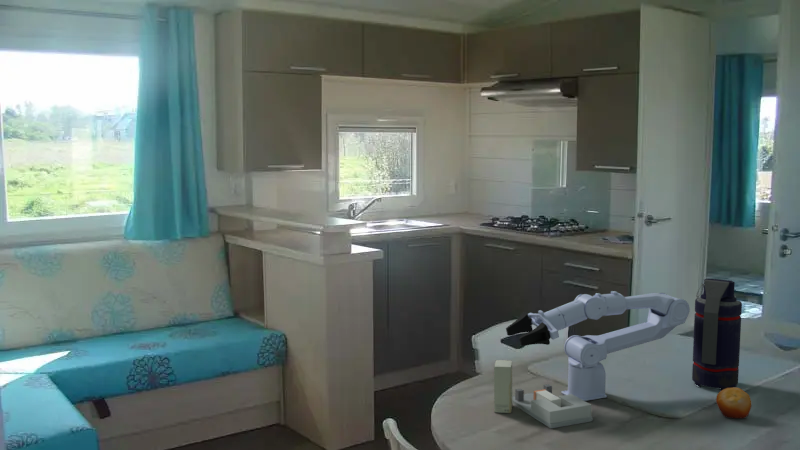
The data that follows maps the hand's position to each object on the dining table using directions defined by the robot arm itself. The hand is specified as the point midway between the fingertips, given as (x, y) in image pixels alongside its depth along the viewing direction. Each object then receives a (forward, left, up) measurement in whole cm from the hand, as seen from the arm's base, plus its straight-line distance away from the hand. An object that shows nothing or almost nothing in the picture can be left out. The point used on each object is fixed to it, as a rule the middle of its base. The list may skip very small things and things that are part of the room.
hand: (513, 336), depth 203 cm
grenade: (-58, +10, -18) cm, 62 cm away
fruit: (-46, +29, -18) cm, 57 cm away
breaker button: (-6, +7, -17) cm, 19 cm away
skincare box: (+4, +2, -18) cm, 19 cm away
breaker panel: (-6, +7, -18) cm, 20 cm away
